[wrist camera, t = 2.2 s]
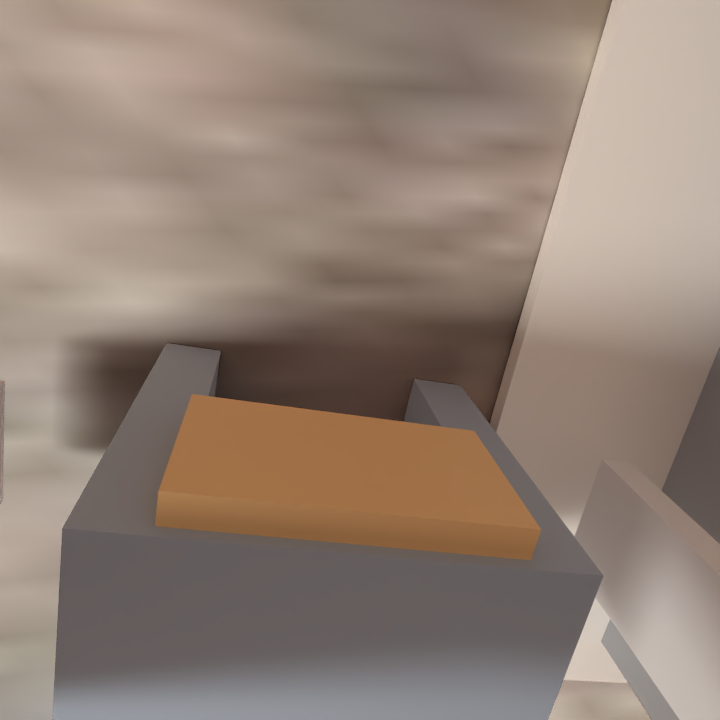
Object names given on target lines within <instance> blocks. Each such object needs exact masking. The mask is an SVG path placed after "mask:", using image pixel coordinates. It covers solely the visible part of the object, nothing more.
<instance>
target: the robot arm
mask: <svg viewBox="0 0 720 720" xmlns="http://www.w3.org/2000/svg"><path fill="white" fill-rule="evenodd" d="M4 394H5V381H2V380H0V503H1V502H2V501H3V454H4ZM574 537H575V538H576V540H577V541H578V542H579V544H580V545H581V546H582V548H583V549H584V550H585V552H586V553H587V554H588V556H589V557H590V558H591V560H592V561H593V562H594V564H595V565H596V566H597V568H598V569H599V570H600V572H601V573H602V574H603V579H602V581H601V584H600V587H599V589H598V592H597V594H596V597H595V598H596V599H597V600H598V602H599V603H600V605H601V606H602V608H603V609H604V611H605V612H606V614H607V615H608V616H609V618H610V619H611V621H612V622H613V624H614V625H615V627H616V628H617V630H618V631H619V632H620V634H621V635H622V637H623V638H624V640H625V641H626V643H627V644H628V646H629V647H630V648H631V650H632V651H633V653H634V654H635V656H636V657H637V659H638V660H639V662H640V663H641V664H642V666H643V667H644V669H645V670H646V672H647V673H648V675H649V676H650V678H651V679H652V680H653V682H654V683H655V685H656V686H657V688H658V689H659V691H660V692H661V694H662V695H663V696H664V698H665V699H666V701H667V702H668V704H669V705H670V707H671V708H672V710H673V711H674V712H675V714H676V715H677V717H678V718H679V720H720V544H719V543H718V542H717V541H716V540H715V539H714V538H713V537H711V536H710V535H709V534H708V533H707V532H706V531H705V530H704V529H703V528H702V527H701V526H699V525H698V524H697V523H696V522H695V521H694V520H693V519H692V518H691V517H690V516H688V515H687V514H686V513H685V512H684V511H683V510H682V509H681V508H680V507H679V506H678V505H676V504H675V503H674V502H673V501H672V500H671V499H670V498H669V497H668V496H667V495H666V494H664V493H663V492H662V491H661V490H660V489H659V488H658V487H657V486H656V485H655V484H654V483H652V482H651V481H650V480H649V479H648V478H647V477H646V476H645V475H644V474H643V473H642V472H640V471H639V470H638V469H637V468H636V467H635V466H634V465H633V464H632V463H627V462H620V461H612V460H605V459H602V461H601V464H600V466H599V469H598V472H597V475H596V478H595V480H594V483H593V486H592V489H591V491H590V494H589V497H588V500H587V503H586V505H585V508H584V511H583V514H582V517H581V519H580V522H579V525H578V528H577V530H576V533H575V536H574Z"/></svg>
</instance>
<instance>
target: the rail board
mask: <svg viewBox="0 0 720 720" xmlns="http://www.w3.org/2000/svg"><path fill="white" fill-rule="evenodd" d="M490 425H491V426H492V428H493V429H494V430H495V432H496V433H497V434H498V436H499V437H500V438H501V440H502V441H503V442H504V444H505V445H506V446H507V448H508V449H509V450H510V452H511V453H512V454H513V456H514V457H515V458H516V460H517V461H518V462H519V464H520V465H521V466H522V468H523V469H524V470H525V472H526V473H527V474H528V476H529V477H530V478H531V480H532V481H533V482H534V484H535V485H536V486H537V488H538V489H539V490H540V492H541V493H542V494H543V496H544V497H545V498H546V500H547V501H548V502H549V504H550V505H551V506H552V508H553V509H554V510H555V512H556V513H557V514H558V516H559V517H560V518H561V520H562V521H563V522H564V524H565V525H566V526H567V528H568V529H569V530H570V532H571V533H572V534H573V536H575V533H576V530H577V528H578V525H579V522H580V519H581V517H582V514H583V511H584V508H585V505H586V503H587V500H588V497H589V494H590V491H591V489H592V486H593V483H594V480H595V478H596V475H597V472H598V469H599V466H600V464H601V461H602V459H605V460H612V461H620V462H627V463H632V464H633V465H634V466H635V467H636V468H637V469H638V470H639V471H640V472H642V473H643V474H644V475H645V476H646V477H647V478H648V479H649V480H650V481H651V482H652V483H654V484H655V485H656V486H657V487H658V488H659V489H660V490H661V491H662V492H663V493H664V494H666V495H667V496H668V497H669V498H670V499H671V500H672V501H673V502H674V503H675V504H676V505H678V506H679V507H680V508H681V509H682V510H683V511H684V512H685V513H686V514H687V515H688V516H690V517H691V518H692V519H693V520H694V521H695V522H696V523H697V524H698V525H699V526H701V527H702V528H703V529H704V530H705V531H706V532H707V533H708V534H709V535H710V536H711V537H713V538H714V539H715V540H716V541H717V542H718V543H719V544H720V0H612V3H611V7H610V10H609V14H608V17H607V20H606V24H605V27H604V31H603V34H602V38H601V41H600V45H599V48H598V51H597V55H596V58H595V62H594V65H593V69H592V72H591V76H590V79H589V83H588V86H587V89H586V93H585V96H584V100H583V103H582V107H581V110H580V114H579V117H578V120H577V124H576V127H575V131H574V134H573V138H572V141H571V145H570V148H569V151H568V155H567V158H566V162H565V165H564V169H563V172H562V176H561V179H560V183H559V186H558V189H557V193H556V196H555V200H554V203H553V207H552V210H551V214H550V217H549V220H548V224H547V227H546V231H545V234H544V238H543V241H542V245H541V248H540V251H539V255H538V258H537V262H536V265H535V269H534V272H533V276H532V279H531V283H530V286H529V289H528V293H527V296H526V300H525V303H524V307H523V310H522V314H521V317H520V320H519V324H518V327H517V331H516V334H515V338H514V341H513V345H512V348H511V351H510V355H509V358H508V362H507V365H506V369H505V372H504V376H503V379H502V383H501V386H500V389H499V393H498V396H497V400H496V403H495V407H494V410H493V414H492V417H491V420H490ZM563 680H576V681H595V682H614V683H628V684H629V685H630V687H631V688H632V690H633V692H634V693H635V695H636V696H637V698H638V699H639V701H640V702H641V704H642V705H643V707H644V709H645V710H646V712H647V713H648V715H649V716H650V718H651V719H652V720H679V718H678V717H677V715H676V714H675V712H674V711H673V710H672V708H671V707H670V705H669V704H668V702H667V701H666V699H665V698H664V696H663V695H662V694H661V692H660V691H659V689H658V688H657V686H656V685H655V683H654V682H653V680H652V679H651V678H650V676H649V675H648V673H647V672H646V670H645V669H644V667H643V666H642V664H641V663H640V662H639V660H638V659H637V657H636V656H635V654H634V653H633V651H632V650H631V648H630V647H629V646H628V644H627V643H626V641H625V640H624V638H623V637H622V635H621V634H620V632H619V631H618V630H617V628H616V627H615V625H614V624H613V622H612V621H611V619H610V618H609V616H608V615H607V614H606V612H605V611H604V609H603V608H602V606H601V605H600V603H599V602H598V600H597V599H596V598H595V599H594V602H593V605H592V607H591V610H590V612H589V615H588V617H587V620H586V623H585V625H584V628H583V630H582V633H581V636H580V638H579V641H578V643H577V646H576V648H575V651H574V654H573V656H572V659H571V661H570V664H569V666H568V669H567V672H566V674H565V677H564V679H563Z"/></svg>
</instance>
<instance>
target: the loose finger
mask: <svg viewBox="0 0 720 720" xmlns="http://www.w3.org/2000/svg"><path fill="white" fill-rule="evenodd" d="M220 354H221V351H219V350H212V349H205V348H198V347H191V346H184V345H177V344H170V343H166V345H165V347H164V348H163V350H162V352H161V354H160V356H159V357H158V359H157V361H156V363H155V364H154V366H153V368H152V370H151V372H150V373H149V375H148V377H147V379H146V380H145V382H144V384H143V386H142V388H141V389H140V391H139V393H138V395H137V396H136V398H135V400H134V402H133V404H132V405H131V407H130V409H129V411H128V413H127V414H126V416H125V418H124V420H123V421H122V423H121V425H120V427H119V429H118V430H117V432H116V434H115V436H114V437H113V439H112V441H111V443H110V445H109V446H108V448H107V450H106V452H105V453H104V455H103V457H102V459H101V461H100V462H99V464H98V466H97V468H96V469H95V471H94V473H93V475H92V477H91V478H90V480H89V482H88V484H87V485H86V487H85V489H84V491H83V493H82V494H81V496H80V498H79V500H78V501H77V503H76V505H75V507H74V509H73V510H72V512H71V514H70V516H69V517H68V519H67V521H66V523H65V525H64V526H63V528H62V546H61V565H60V585H59V604H58V623H57V642H56V661H55V681H54V700H53V719H52V720H548V718H549V715H550V713H551V710H552V708H553V705H554V703H555V700H556V697H557V695H558V692H559V690H560V687H561V685H562V682H563V679H564V677H565V674H566V672H567V669H568V666H569V664H570V661H571V659H572V656H573V654H574V651H575V648H576V646H577V643H578V641H579V638H580V636H581V633H582V630H583V628H584V625H585V623H586V620H587V617H588V615H589V612H590V610H591V607H592V605H593V602H594V599H595V597H596V594H597V592H598V589H599V587H600V584H601V581H602V579H603V574H602V573H601V572H600V570H599V569H598V568H597V566H596V565H595V564H594V562H593V561H592V560H591V558H590V557H589V556H588V554H587V553H586V552H585V550H584V549H583V548H582V546H581V545H580V544H579V542H578V541H577V540H576V538H575V537H574V536H573V534H572V533H571V532H570V530H569V529H568V528H567V526H566V525H565V524H564V522H563V521H562V520H561V518H560V517H559V516H558V514H557V513H556V512H555V510H554V509H553V508H552V506H551V505H550V504H549V502H548V501H547V500H546V498H545V497H544V496H543V494H542V493H541V492H540V490H539V489H538V488H537V486H536V485H535V484H534V482H533V481H532V480H531V478H530V477H529V476H528V474H527V473H526V472H525V470H524V469H523V468H522V466H521V465H520V464H519V462H518V461H517V460H516V458H515V457H514V456H513V454H512V453H511V452H510V450H509V449H508V448H507V446H506V445H505V444H504V442H503V441H502V440H501V438H500V437H499V436H498V434H497V433H496V432H495V430H494V429H493V428H492V426H491V425H490V424H489V422H488V421H487V420H486V418H485V417H484V416H483V414H482V413H481V412H480V410H479V409H478V408H477V406H476V405H475V404H474V402H473V401H472V400H471V398H470V397H469V396H468V394H467V393H466V392H465V390H464V389H463V388H462V386H461V385H454V384H447V383H441V382H434V381H427V380H420V379H414V380H413V385H412V389H411V393H410V397H409V401H408V405H407V409H406V414H405V418H404V422H402V421H395V420H387V419H379V418H372V417H364V416H356V415H349V414H341V413H333V412H326V411H318V410H310V409H303V408H295V407H287V406H280V405H272V404H264V403H257V402H249V401H241V400H234V399H226V398H218V397H215V391H216V384H217V376H218V369H219V361H220Z"/></svg>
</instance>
